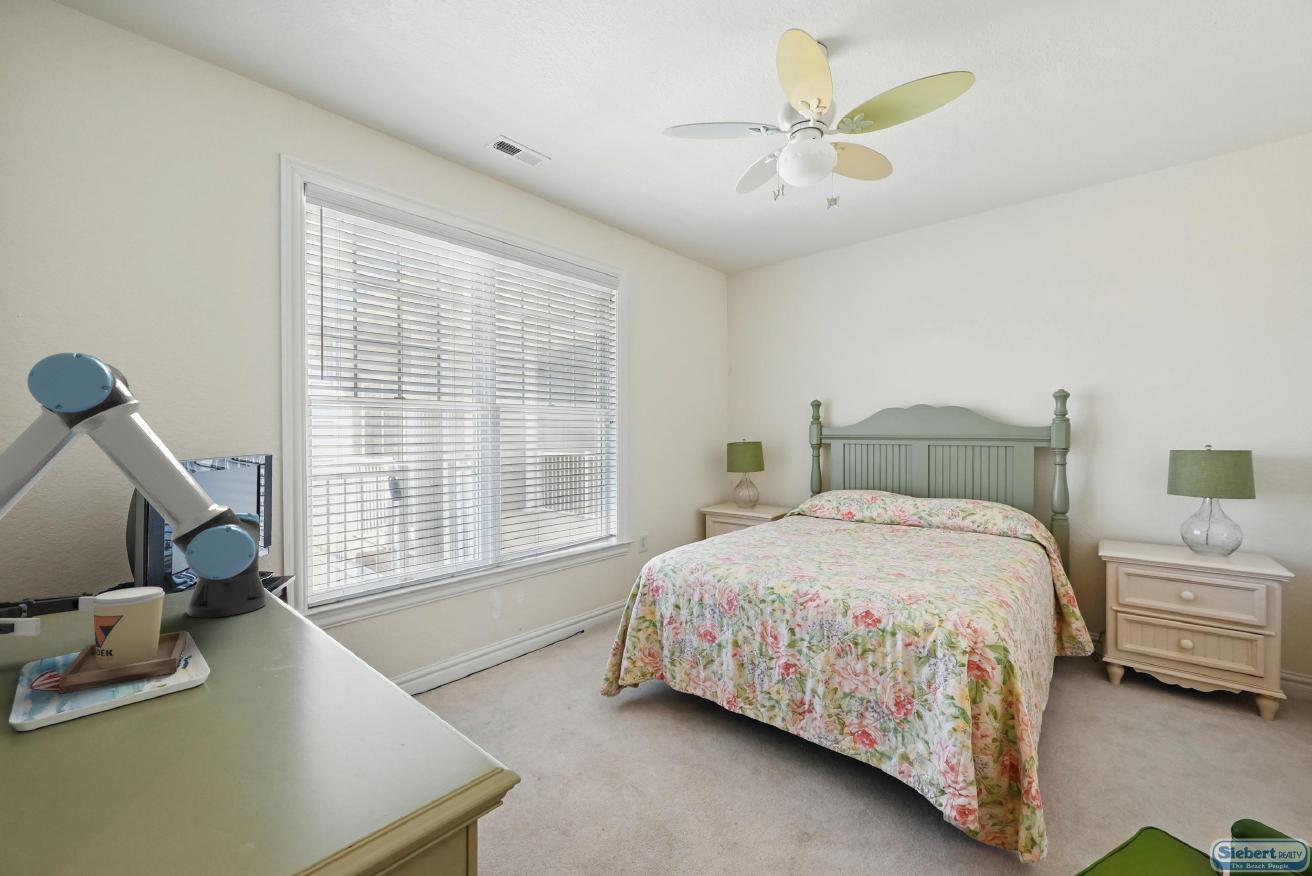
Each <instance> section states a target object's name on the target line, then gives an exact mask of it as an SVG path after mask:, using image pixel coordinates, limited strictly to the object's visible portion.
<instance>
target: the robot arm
mask: <svg viewBox="0 0 1312 876" xmlns="http://www.w3.org/2000/svg"><path fill="white" fill-rule="evenodd" d="M26 380H27V388H28V391H29V393H30V394H31V396H32V397H33V398H34V399H35V401H36V402H37V403H38V404H41V405H40V410H41V414H40V415H39V416H38V417H37V418H36V419H35V420H33V422H32V423H31V424H30V425H29V426H28V427H27V428H26V429H25V430H24V431H23V432H22V433H21V434H20V435H18V437H17V438H15V440H13V442H11V444H9V446H8V447H6V448H5V449H4V451H3V452H1V453H0V521H1V520H2V519H4V518H5V516H6V515H7V514H8V513H9V512H10V511H11V510H12V509H13V508H14V507H15V506H16V504H18V503H19V502H20V501H21V499H23V498H24V497H25V495H26V494H28V492H29V491H30V490H31V489H32V488H34V486H35V485H36V484H37V483H39V481H40V480H41V479H43V477H44V476H46V474H47V473H48V472H49V471H50V470H51V469H52V468H53V467H54V466H55V465H56V464H57V463H58V462H59V461H60V460H61V459H62V457H64V456H65V455H66V454H67V453H68V452H69V451H70V450H71V448H73V446H74V445H76V443H78V442H79V440H80V439H81V438H82V437H83V436H84V435H87V436H89V437H90V439H91V440H92V441H93V442H94V443H95V444H96V445H97V446H98V448H99V449H100V450H101V451H102V452H103V453H104V454H105V455H106V456H107V457H108V459H109V460H111V462H112V463H113V465H115V466H116V467H117V468H118V470H120V472H121V474H123V476H125V478H126V479H127V480H128V481H129V482H130V483H131V484H132V486H134V488H135V489H136V490H137V491H138V492H139V494H141V495H142V496H143V497H144V499H146V501H147V502H148V503H149V504H150V506H151V507H153V508H154V509H155V511H156V512H157V513H158V514H159V516H161V517H162V518H163V519H164V521H165V522H166V523H167V525H169V526H170V528H172V532H171V534H170V535H171V536H170V541H171V542H172V543H173V544H174V545H175V547H176V548H178V550H179V551H180V552H181V553H182V554H183V555H184V559H185V560H186V564H187V566H188V568H189V569H190V570H191V571H192V572H193V573H194V574H196V575H197V582H196V584H195V587H194V589H193V591H192V593H191V597H190V599H189V601H188V603H187V612H186V613H187V616H188V617H193V618H199V619H200V618H205V619H206V618H218V617H226V616H236V615H238V614H244V613H249V612H252V611H256V610H258V609H261V608H263V607H265V606H266V605H267V593H266V589H265V587H264V585H263V582H262V580H261V577H260V574H259V566H260V565H259V564H260V563H259V561H260V560H259V557H260V527H261V522H260V516H259V514H258V513H255V512H237V513H235V512H234V511H233V510H232V509H231V508H230V507H229V506H228V505H221V504H217V503H215V502H214V500H213V499H212V498H211V497H210V496H209V494H208V493H207V492H206V491H205V489H203V487H202V486H201V485H200V484H199V482H197V481H196V479H195V478H194V476H192V475H191V474H190V472H189V471H188V470H187V469H186V468H185V467H184V465H183V464H182V463H181V462H180V460H179V459H177V457H176V456H175V455H174V454H173V453H172V452H171V451H170V449H169V448H168V447H167V445H165V443H164V442H163V441H162V440H161V439H160V438H159V436H158V435H157V433H155V432H154V430H153V429H152V428H151V426H149V425H148V423H147V422H146V421H145V420H144V419H143V418H142V417H141V415H140V414H139V412H138V411H139V408H140V405H141V402H140V401H139V399H138V398H136V396H135V394H134V393H133V392H132V391H131V390H130V387H129V386H130V385H129V382H128V380H127V378H126V377H125V375H124V374H123V373H122V372H121V371H120V370H119V369H117V368H116V367H114V366H112V365H110V364H108V363H106V362H103V361H102V360H101V359H99V358H97V357H96V356H93V355H88V354H86V353H82V352H81V353H80V352H79V353H78V352H60V353H55V354H52V355H48V356H46V357H44V358H42V359H41V360H39V361H38V362H36V363H35V364H34V365H33V366H32V368H31V369H30V371H29V373H28V376H27V379H26ZM95 597H96V596H93V592H92V593H89V592H87V591H83V592H81V594H73V595H59V596H58V595H57V596H48V597H31V598H30V597H27V598H23V599H22V600H18V601H17V600H16V601H12V600H5V601H0V637H35V636H39V635H41V618H40V617H37V616H46V615H54V614H60V613H69V612H79V613H94V606H93V605H92V602H93V600H95ZM23 614H26V615H23Z"/></svg>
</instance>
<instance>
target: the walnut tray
mask: <svg viewBox="0 0 1312 876" xmlns="http://www.w3.org/2000/svg"><path fill="white" fill-rule="evenodd" d="M185 642H186V643H187V630H181V631H175V632H167V633H161V634H159V642H158V650H157V655H156V657H154V658H153V659H151V660H149V661H146V662H142V663H136V664H130V665H124V666H118V667H112V668H106V669H104V668H99V667H98V666H97V657H96V643H92V644H86V645H85V647H84V648H83V649H82V650H81V651H80V652H79V654H78V655H77V656H76V657H75V658H74V660H73V661H72V662H71V663H70V665H69V666H68V667H67V668H66V669H65V670H64V671H63V673H62V674H61V675H60V676H59V679H58V693H59V692H65V693H71V692H76V691H81V690H82V691H83V690H87V689H88V690H89V689H93V688H97V687H98V688H99V687H104V686H108V685H114V684H120V683H126V682H132V681H137V680H143V679H149V678H154V677H153V676H155V677H157V676H156V675H160V676H163V675H162V674H166V675H168V674H167V673H171V674H176V673H177V671H178V667H179V665H180V662H181V659H182V656H183V653H184V650H185V647H184V645H185ZM185 646H186V645H185ZM183 649H184V650H183ZM182 652H183V653H182ZM181 655H182V656H181ZM180 658H181V659H180ZM179 661H180V662H179ZM178 664H179V665H178ZM175 672H176V673H175ZM148 677H149V678H148ZM70 691H71V692H70Z"/></svg>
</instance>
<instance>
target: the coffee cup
mask: <svg viewBox="0 0 1312 876" xmlns="http://www.w3.org/2000/svg"><path fill="white" fill-rule="evenodd" d="M165 593H166V592H165V591H164V589H163V588H162V587H160V586H140V587H139V586H137V587H129V588H122V589H116V590H112V591H111V590H110V591H107V592H103V593H101V594H97V595H95V596H94V597H95V600H93V602H92V605H93V606H94V612H93V626H94V639H95V640H94V641H95V643H94V644H96V657H97V666H98V667H99V668H104V669H106V668H112V667H118V666H124V665H130V664H136V663H142V662H146V661H149V660H151V659H153V658H154V657H156V655H157V650H158V642H159V635H160V632H161V623H162V617H163V616H162V615H163V606H164V597H165Z"/></svg>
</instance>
